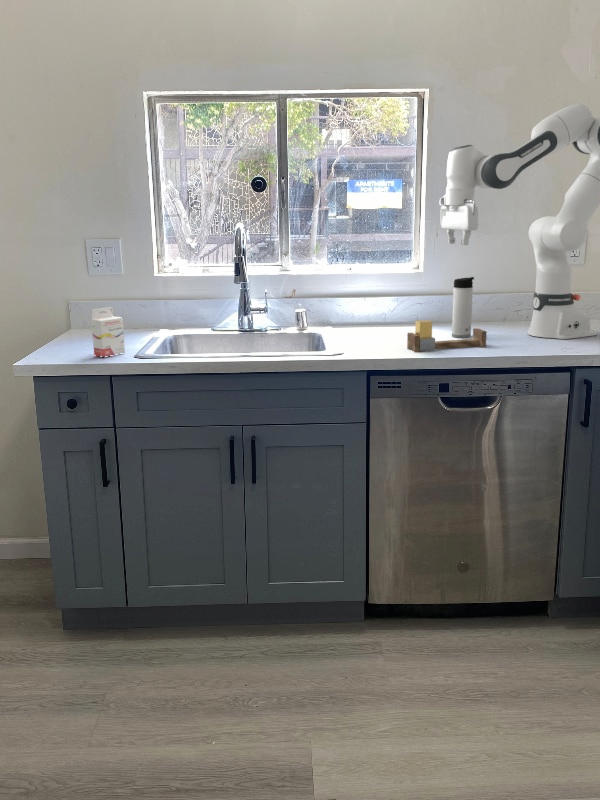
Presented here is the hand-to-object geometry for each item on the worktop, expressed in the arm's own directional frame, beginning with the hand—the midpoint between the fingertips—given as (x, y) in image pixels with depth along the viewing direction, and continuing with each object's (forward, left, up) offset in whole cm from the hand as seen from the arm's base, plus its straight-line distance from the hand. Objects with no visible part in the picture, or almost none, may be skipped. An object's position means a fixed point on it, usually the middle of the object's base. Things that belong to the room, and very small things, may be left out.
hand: (458, 244), depth 234 cm
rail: (+8, +11, -31) cm, 34 cm away
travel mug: (-5, -5, -31) cm, 32 cm away
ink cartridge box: (+111, -13, -31) cm, 116 cm away
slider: (+16, +11, -31) cm, 37 cm away
